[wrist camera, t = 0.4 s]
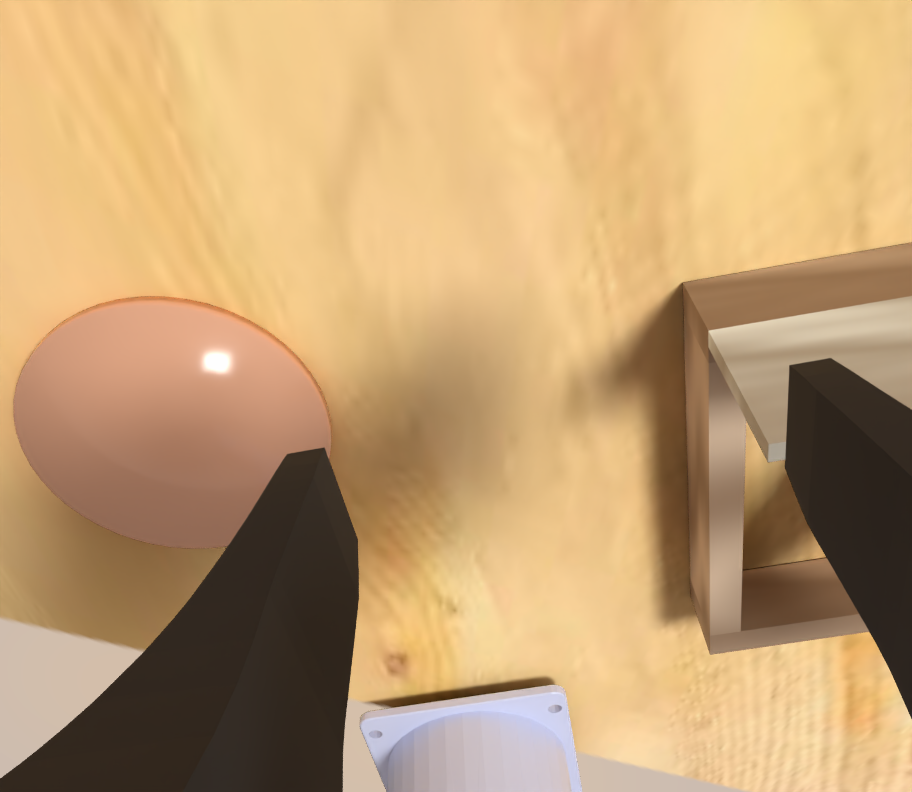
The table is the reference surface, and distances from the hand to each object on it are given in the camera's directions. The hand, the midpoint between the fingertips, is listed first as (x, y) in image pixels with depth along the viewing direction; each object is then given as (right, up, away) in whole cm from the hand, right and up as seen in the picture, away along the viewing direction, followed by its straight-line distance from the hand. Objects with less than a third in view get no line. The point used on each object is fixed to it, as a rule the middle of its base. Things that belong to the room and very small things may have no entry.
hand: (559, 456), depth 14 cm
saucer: (-10, 0, +12) cm, 16 cm away
